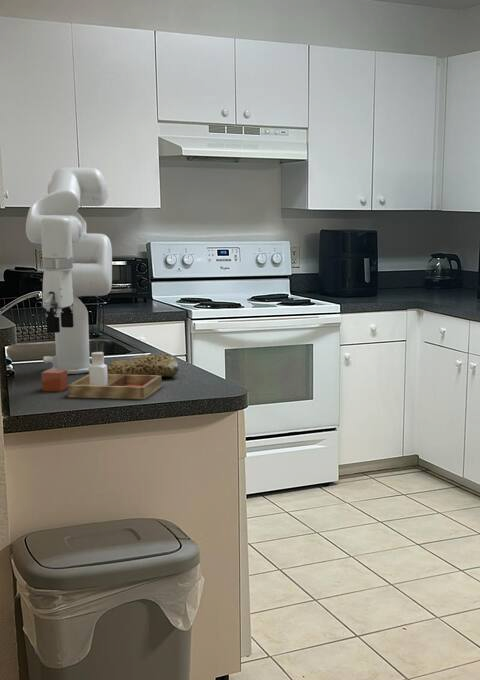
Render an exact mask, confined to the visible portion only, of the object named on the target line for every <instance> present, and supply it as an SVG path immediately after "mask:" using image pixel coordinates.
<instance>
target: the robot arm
mask: <svg viewBox="0 0 480 680" xmlns="http://www.w3.org/2000/svg"><path fill="white" fill-rule="evenodd" d="M108 191H109V190H108V184H107V182H106V179H105V177H104V175H103V173H102V171H100V170H99V169H98V168H96V167H90V166H89V167H87V166H86V167H83V166H82V167H81V166H67V167H66V166H65V167H64V166H63V167H60V168H57V169H56V170H55V171H54V172H53V174H52V176H51V180H50V181H49V182H48V184H47V194H46V195H44V196H43V197H41V198H39V199H37V200H36V201H34V202H33V203H32V204H31V206H30V207H29V209H28V212H27V216H26V222H25V234H26V237H27V239H28V241H30V243H32V244H37V245H41V256H42V257H41V258H42V271H43V277H42V307H43V309H44V312H45V318H46V332H47V333H51V334H52V333H53V334H54V342H55V355H53V356H48V355H47V356H43V357H42V363H44V364H51V365H52V366H51V367H50V369H66V370H67V375H78V374H79V375H80V374H86V373H89V366H90V365H92V363H91V356H90V331H89V329H90V328H89V312H88V309H87V306H86V305H85V304H84V303H83V302H82V300H81V299H80V297H102V296H107V295H108V294H110V292H111V290H112V287H113V247H112V242H111V240H110V238H109V236H107V234H104V233H97V232H96V233H95V232H93V233H91V232H89V233H87V228H88V227H87V221H86V220H85V219H84V217H83V216H82V215H81V214H80V213H79V211H78V210H79V208H80V207H101V206H104V205H105V204H106V203H107V201H108V196H109V192H108Z"/></svg>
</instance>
